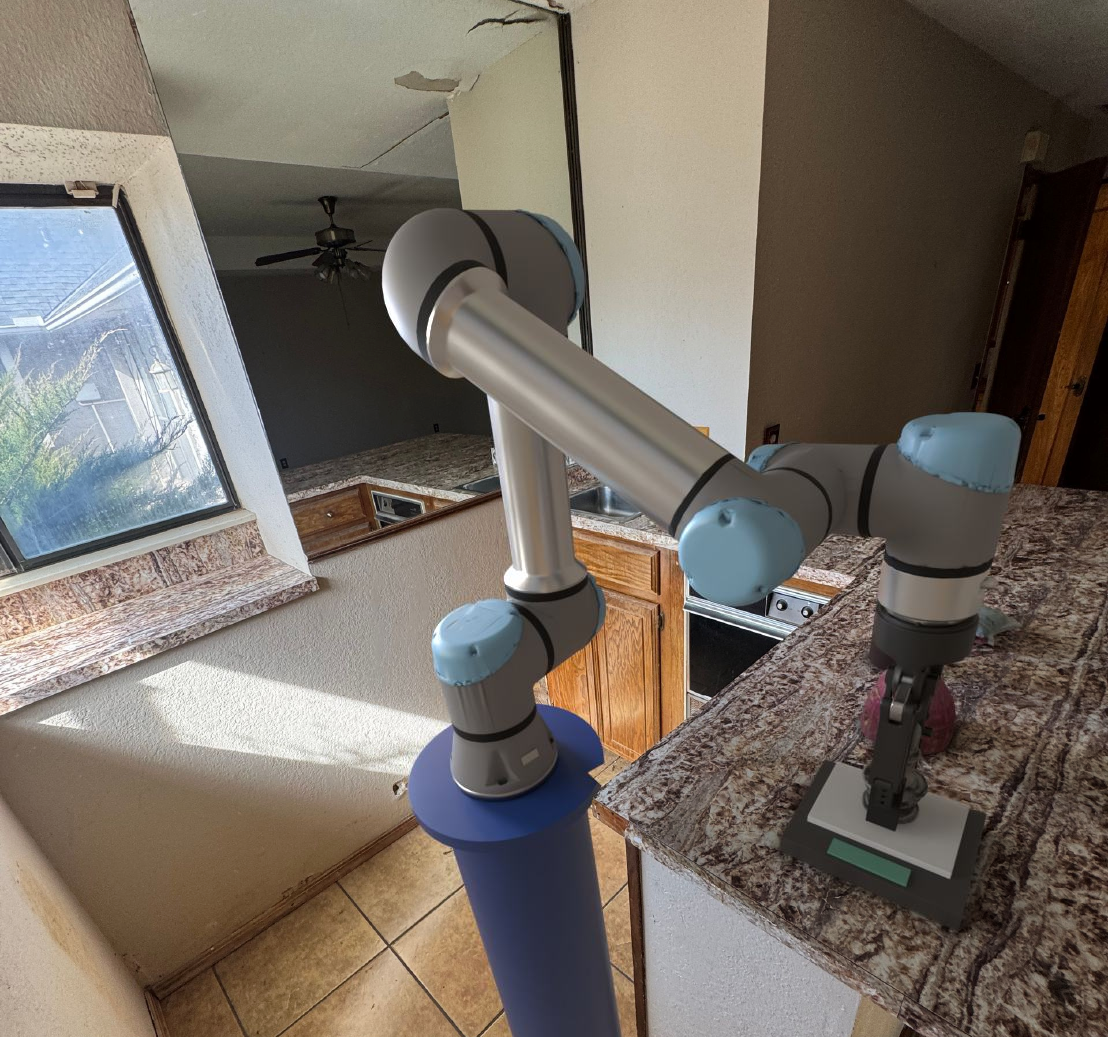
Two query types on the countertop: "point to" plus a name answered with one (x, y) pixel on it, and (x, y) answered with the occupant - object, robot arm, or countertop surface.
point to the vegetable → (938, 720)
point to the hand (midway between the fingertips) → (889, 802)
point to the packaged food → (992, 624)
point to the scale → (888, 845)
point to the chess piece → (913, 788)
